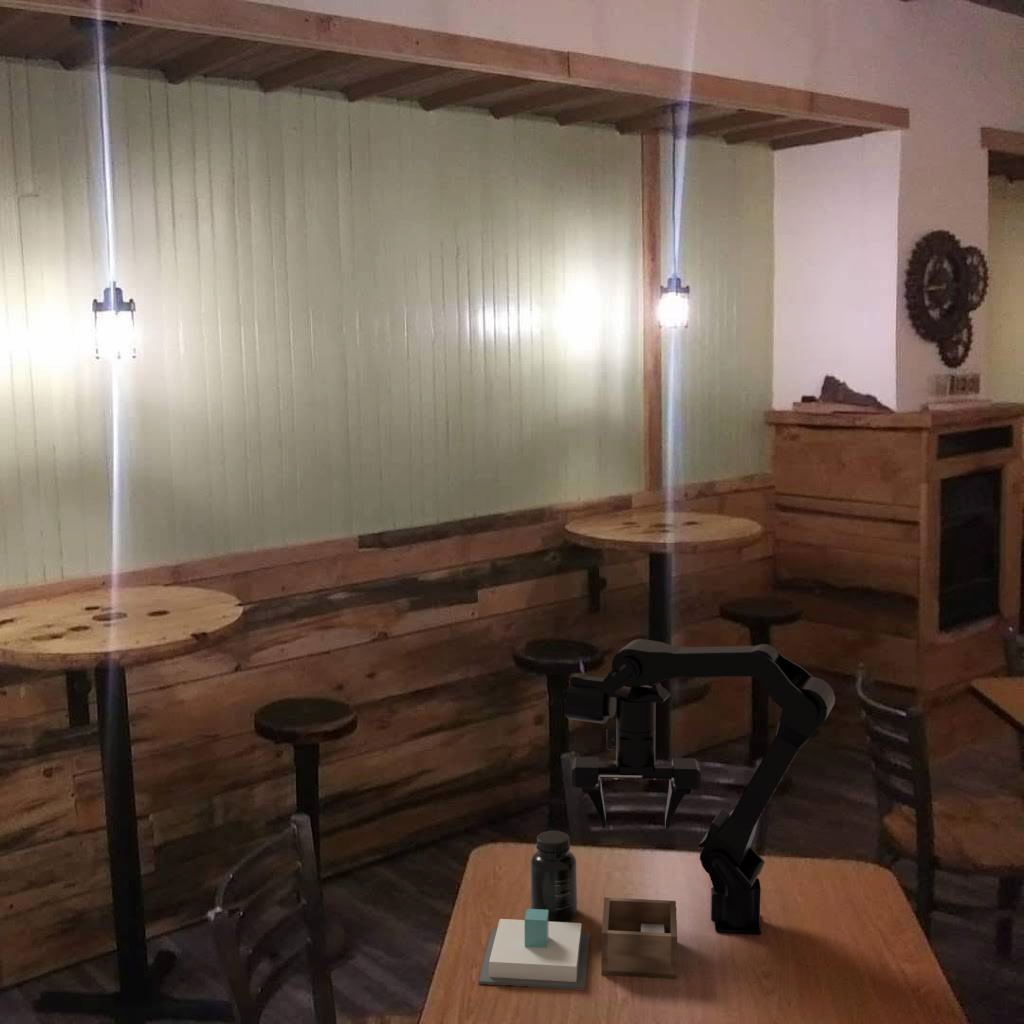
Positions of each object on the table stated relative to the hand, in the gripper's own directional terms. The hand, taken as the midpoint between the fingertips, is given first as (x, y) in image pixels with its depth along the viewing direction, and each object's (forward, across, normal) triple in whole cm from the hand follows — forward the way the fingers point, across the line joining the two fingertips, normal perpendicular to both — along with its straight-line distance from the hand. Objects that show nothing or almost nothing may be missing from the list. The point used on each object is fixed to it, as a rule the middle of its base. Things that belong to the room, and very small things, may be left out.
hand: (635, 827), depth 183 cm
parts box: (+12, 0, +16) cm, 20 cm away
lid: (+11, +14, +17) cm, 25 cm away
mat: (+12, +14, +17) cm, 25 cm away
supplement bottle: (+12, +12, +4) cm, 18 cm away
